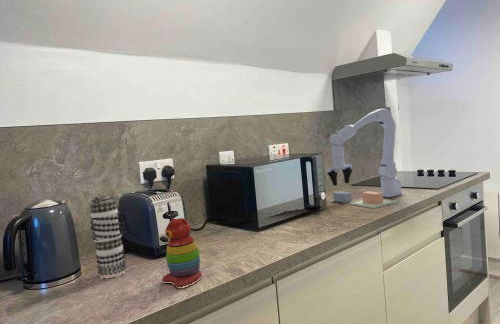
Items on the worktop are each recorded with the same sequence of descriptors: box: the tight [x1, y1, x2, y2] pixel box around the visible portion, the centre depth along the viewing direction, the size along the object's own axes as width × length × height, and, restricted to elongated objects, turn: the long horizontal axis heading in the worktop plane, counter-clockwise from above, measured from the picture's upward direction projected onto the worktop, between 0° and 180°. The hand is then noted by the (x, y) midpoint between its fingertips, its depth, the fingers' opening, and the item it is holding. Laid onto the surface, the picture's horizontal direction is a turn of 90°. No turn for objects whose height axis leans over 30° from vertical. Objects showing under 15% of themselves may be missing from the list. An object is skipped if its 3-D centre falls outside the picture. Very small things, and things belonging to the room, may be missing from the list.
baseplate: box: [348, 198, 399, 209], centre depth 177 cm, size 15×16×1 cm
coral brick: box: [361, 190, 384, 204], centre depth 177 cm, size 4×9×4 cm, turn 26°
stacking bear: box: [161, 217, 203, 287], centre depth 106 cm, size 11×10×18 cm
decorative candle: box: [88, 194, 128, 275], centre depth 118 cm, size 9×9×25 cm
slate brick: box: [332, 191, 353, 204], centre depth 191 cm, size 4×9×4 cm, turn 26°
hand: (341, 184), depth 190 cm, fingers open, 7 cm apart
